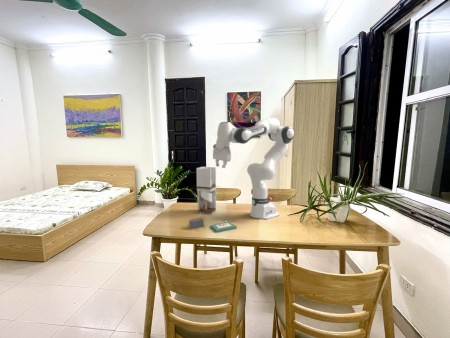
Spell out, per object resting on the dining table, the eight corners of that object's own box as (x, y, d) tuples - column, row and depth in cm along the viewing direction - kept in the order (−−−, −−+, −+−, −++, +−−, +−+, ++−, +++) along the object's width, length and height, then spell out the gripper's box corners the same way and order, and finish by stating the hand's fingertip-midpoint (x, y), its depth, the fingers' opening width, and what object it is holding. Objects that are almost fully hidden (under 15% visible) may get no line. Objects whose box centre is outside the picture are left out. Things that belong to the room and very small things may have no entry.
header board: (229, 223, 154) (229, 221, 154) (236, 228, 145) (236, 226, 145) (210, 227, 148) (210, 224, 147) (216, 232, 139) (216, 230, 139)
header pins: (226, 224, 148) (226, 220, 147) (226, 225, 147) (226, 220, 146) (219, 225, 145) (219, 221, 145) (220, 226, 145) (220, 221, 144)
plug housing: (201, 224, 151) (201, 217, 150) (203, 227, 147) (203, 219, 147) (189, 227, 147) (189, 219, 147) (191, 229, 144) (191, 221, 143)
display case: (197, 213, 176) (196, 168, 171) (203, 209, 185) (202, 166, 181) (210, 214, 172) (210, 169, 167) (216, 210, 181) (215, 167, 177)
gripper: (234, 147, 142) (232, 169, 143) (220, 146, 160) (218, 165, 161) (225, 146, 139) (223, 168, 140) (212, 145, 157) (210, 165, 158)
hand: (220, 167), depth 150 cm, fingers open, 8 cm apart
